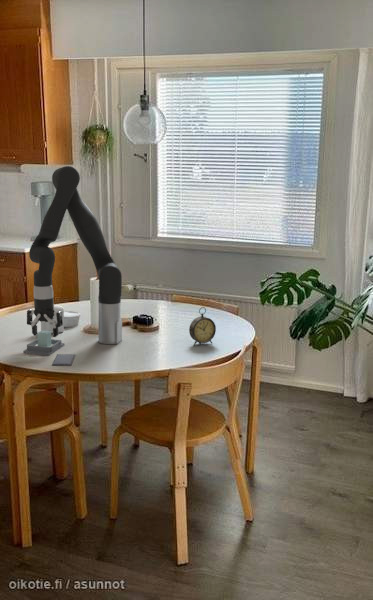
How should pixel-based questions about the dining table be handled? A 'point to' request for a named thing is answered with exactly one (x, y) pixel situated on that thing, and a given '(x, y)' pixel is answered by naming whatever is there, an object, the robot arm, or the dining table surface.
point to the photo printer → (47, 326)
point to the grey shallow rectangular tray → (40, 350)
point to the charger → (44, 338)
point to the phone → (63, 360)
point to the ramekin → (71, 318)
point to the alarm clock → (202, 329)
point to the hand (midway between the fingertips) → (45, 335)
